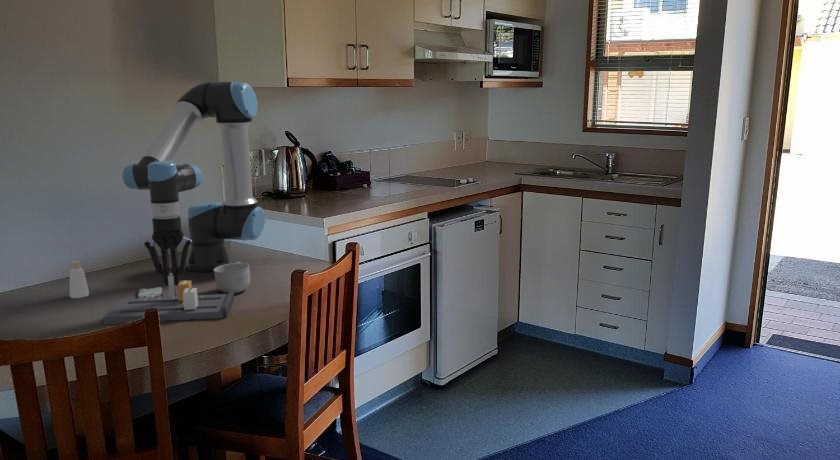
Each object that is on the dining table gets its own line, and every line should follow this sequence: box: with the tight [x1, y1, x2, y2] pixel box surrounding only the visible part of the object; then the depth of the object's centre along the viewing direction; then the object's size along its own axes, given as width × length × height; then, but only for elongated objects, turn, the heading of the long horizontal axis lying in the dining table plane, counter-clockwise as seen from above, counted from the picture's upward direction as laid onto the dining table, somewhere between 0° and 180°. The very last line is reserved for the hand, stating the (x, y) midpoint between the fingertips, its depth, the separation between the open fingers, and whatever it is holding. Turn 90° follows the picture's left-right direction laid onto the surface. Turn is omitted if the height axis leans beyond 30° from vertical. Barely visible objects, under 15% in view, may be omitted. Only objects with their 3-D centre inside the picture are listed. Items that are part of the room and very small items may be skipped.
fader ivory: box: [183, 287, 198, 310], centre depth 180 cm, size 4×3×5 cm
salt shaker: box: [69, 260, 90, 299], centre depth 198 cm, size 5×5×11 cm
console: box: [103, 290, 235, 325], centre depth 184 cm, size 16×32×3 cm, turn 98°
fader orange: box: [177, 279, 193, 301], centre depth 187 cm, size 4×3×5 cm
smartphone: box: [136, 286, 164, 298], centre depth 198 cm, size 7×1×15 cm
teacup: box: [213, 261, 251, 294], centre depth 204 cm, size 14×11×8 cm
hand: (173, 295), depth 187 cm, fingers closed
